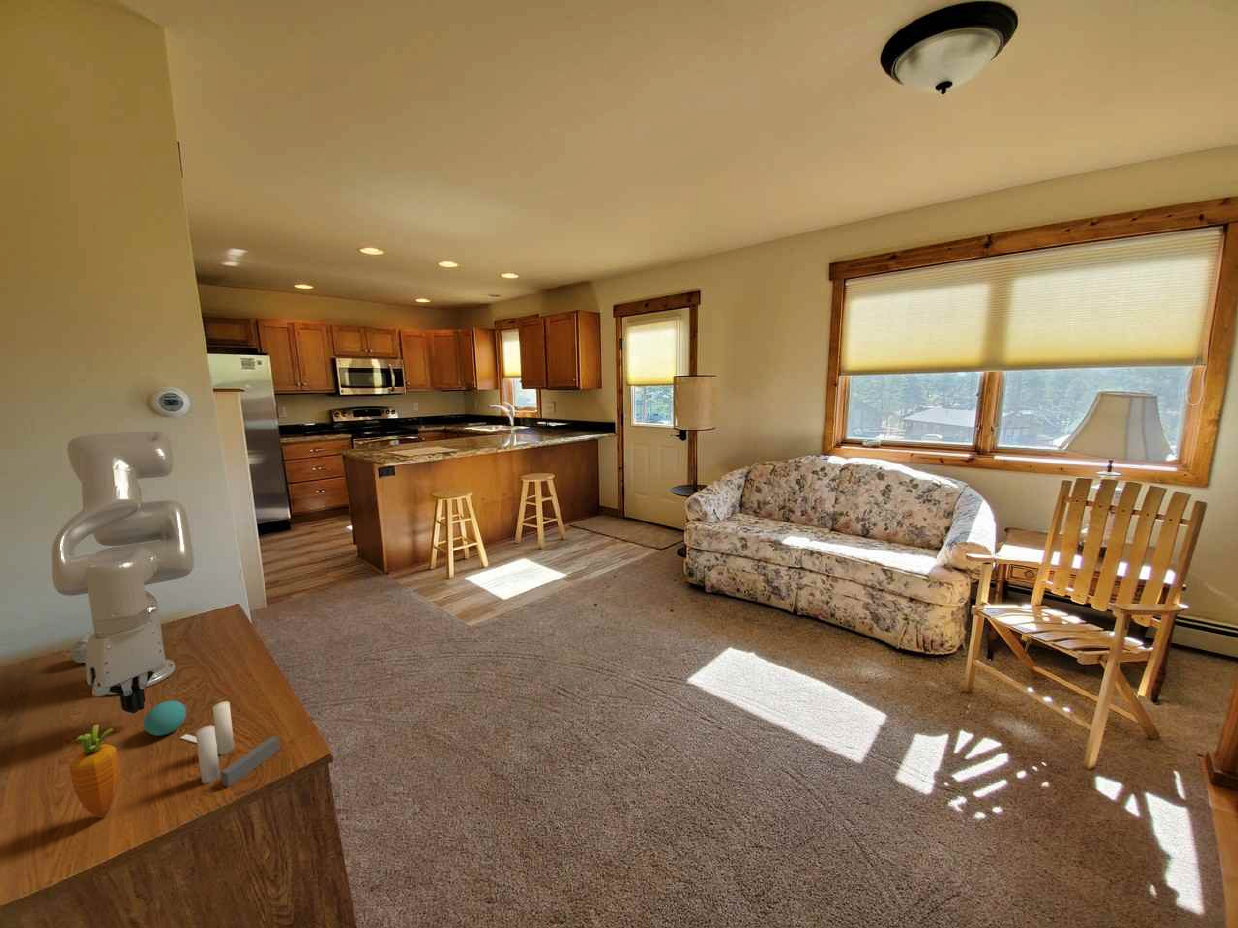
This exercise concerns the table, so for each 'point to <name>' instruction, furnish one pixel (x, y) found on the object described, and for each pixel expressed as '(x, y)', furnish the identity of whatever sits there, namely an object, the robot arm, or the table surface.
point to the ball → (165, 718)
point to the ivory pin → (223, 727)
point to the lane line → (190, 738)
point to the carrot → (95, 773)
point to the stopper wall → (250, 761)
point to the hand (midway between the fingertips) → (134, 709)
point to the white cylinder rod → (208, 754)
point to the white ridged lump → (79, 650)
